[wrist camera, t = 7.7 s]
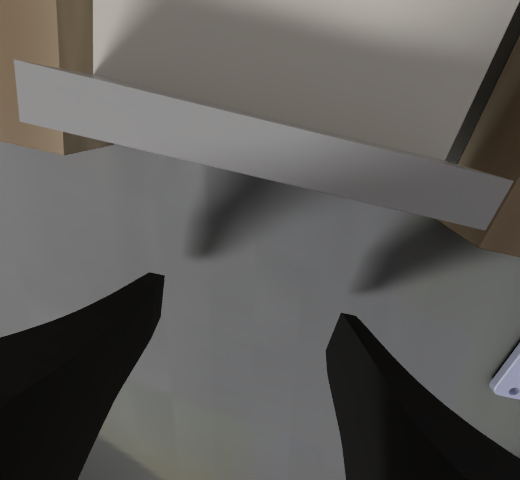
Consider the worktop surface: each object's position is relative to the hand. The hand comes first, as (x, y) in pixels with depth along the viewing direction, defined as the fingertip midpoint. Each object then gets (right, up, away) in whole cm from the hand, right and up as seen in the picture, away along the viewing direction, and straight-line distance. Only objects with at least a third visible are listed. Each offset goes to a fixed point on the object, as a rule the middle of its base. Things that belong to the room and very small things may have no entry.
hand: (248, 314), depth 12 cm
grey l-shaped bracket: (+2, +10, -2) cm, 10 cm away
